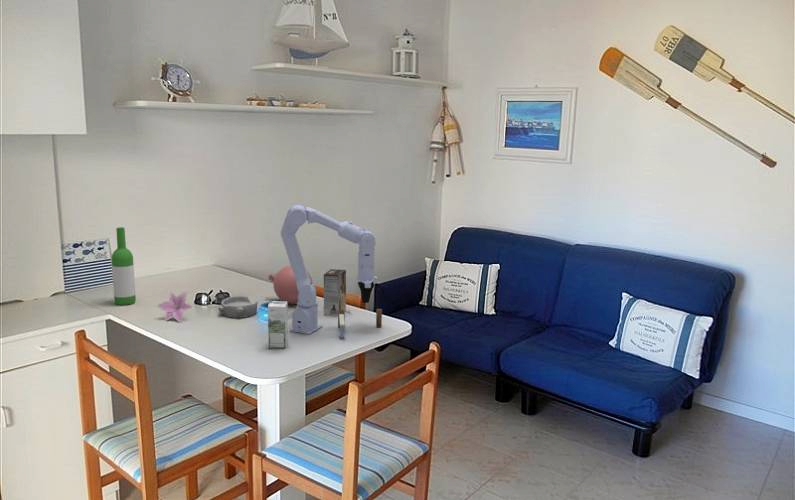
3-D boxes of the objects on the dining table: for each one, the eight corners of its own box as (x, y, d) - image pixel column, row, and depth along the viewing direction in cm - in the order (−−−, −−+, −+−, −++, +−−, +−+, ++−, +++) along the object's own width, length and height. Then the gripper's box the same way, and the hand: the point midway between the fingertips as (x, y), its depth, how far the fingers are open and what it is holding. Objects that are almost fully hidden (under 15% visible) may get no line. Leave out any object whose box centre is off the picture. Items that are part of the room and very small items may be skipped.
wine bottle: (133, 299, 257) (129, 225, 251) (137, 304, 251) (133, 228, 245) (113, 301, 253) (107, 227, 247) (116, 306, 247) (111, 230, 241)
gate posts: (338, 328, 228) (338, 311, 227) (337, 326, 231) (337, 309, 229) (381, 327, 230) (382, 310, 229) (381, 325, 233) (381, 308, 231)
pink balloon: (283, 293, 271) (282, 258, 267) (320, 301, 260) (320, 264, 257) (257, 302, 258) (256, 264, 255) (295, 311, 247) (294, 272, 244)
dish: (239, 305, 253) (238, 293, 252) (265, 311, 246) (265, 299, 245) (211, 315, 241) (211, 302, 239) (239, 321, 234) (238, 308, 233)
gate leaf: (339, 327, 228) (339, 314, 227) (343, 327, 228) (343, 314, 227) (339, 338, 218) (339, 323, 217) (344, 337, 218) (344, 323, 217)
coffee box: (330, 308, 252) (330, 268, 249) (346, 309, 251) (346, 269, 247) (323, 315, 243) (323, 274, 240) (339, 316, 242) (339, 275, 239)
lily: (155, 319, 237) (150, 301, 230) (180, 301, 244) (176, 283, 238) (177, 335, 232) (173, 317, 226) (202, 315, 239) (198, 298, 233)
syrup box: (288, 342, 214) (287, 300, 211) (285, 348, 208) (285, 305, 205) (271, 342, 214) (270, 300, 210) (268, 348, 208) (267, 305, 205)
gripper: (379, 270, 219) (379, 308, 222) (375, 260, 233) (374, 296, 236) (359, 270, 218) (358, 308, 221) (356, 260, 232) (355, 296, 235)
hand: (365, 302), depth 229 cm, fingers closed
